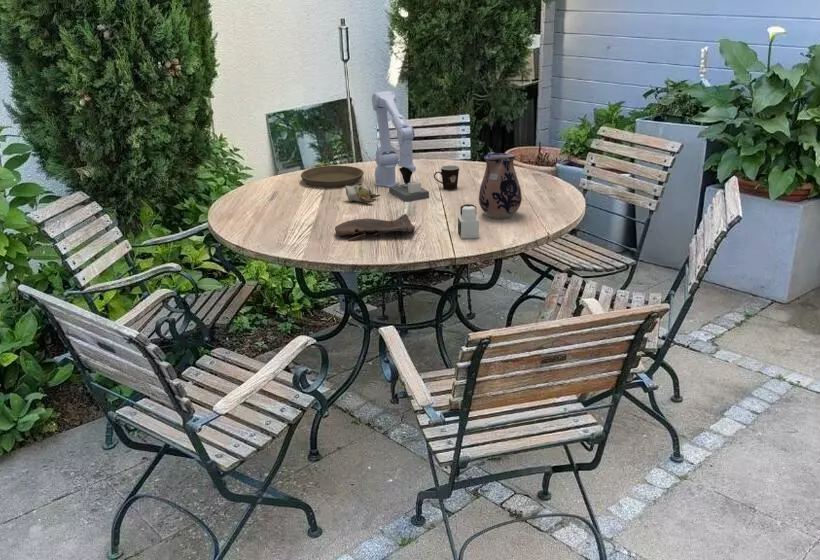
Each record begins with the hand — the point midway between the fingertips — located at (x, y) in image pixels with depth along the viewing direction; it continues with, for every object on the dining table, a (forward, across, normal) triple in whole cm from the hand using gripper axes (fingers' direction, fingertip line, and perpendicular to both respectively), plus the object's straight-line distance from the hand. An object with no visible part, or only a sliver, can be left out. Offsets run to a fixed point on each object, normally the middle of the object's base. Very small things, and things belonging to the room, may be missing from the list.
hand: (406, 183), depth 330 cm
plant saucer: (+6, -42, -20) cm, 47 cm away
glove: (+5, +41, -35) cm, 54 cm away
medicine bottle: (+5, +63, -6) cm, 64 cm away
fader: (+2, +8, 0) cm, 8 cm away
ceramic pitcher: (+5, +47, +18) cm, 51 cm away
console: (+5, +2, 0) cm, 6 cm away
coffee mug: (+6, +1, +21) cm, 21 cm away
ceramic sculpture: (+6, -1, -22) cm, 23 cm away
